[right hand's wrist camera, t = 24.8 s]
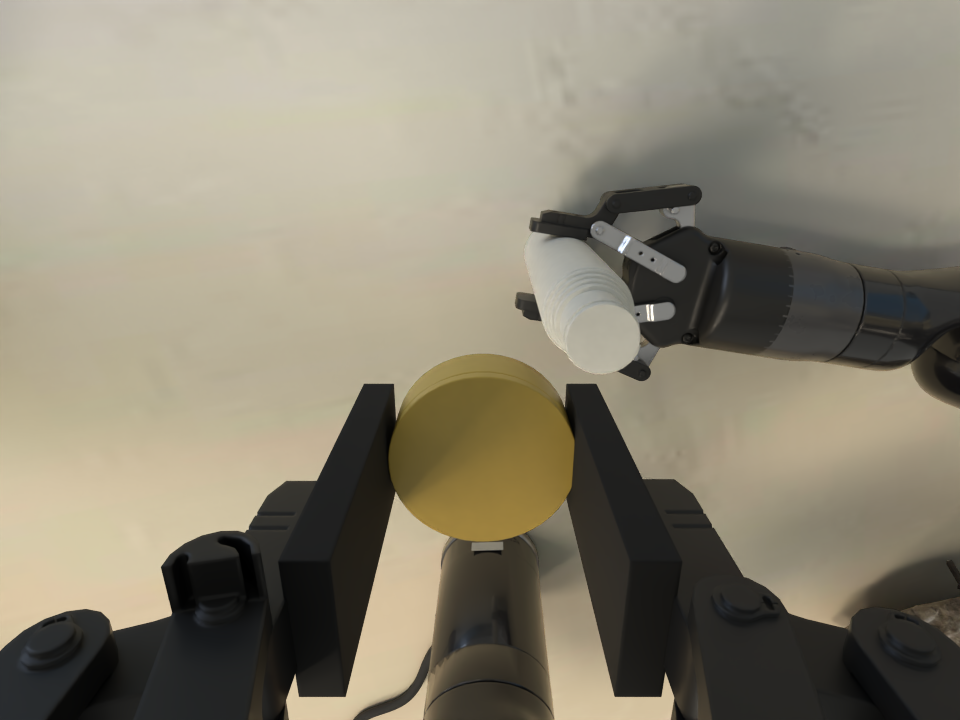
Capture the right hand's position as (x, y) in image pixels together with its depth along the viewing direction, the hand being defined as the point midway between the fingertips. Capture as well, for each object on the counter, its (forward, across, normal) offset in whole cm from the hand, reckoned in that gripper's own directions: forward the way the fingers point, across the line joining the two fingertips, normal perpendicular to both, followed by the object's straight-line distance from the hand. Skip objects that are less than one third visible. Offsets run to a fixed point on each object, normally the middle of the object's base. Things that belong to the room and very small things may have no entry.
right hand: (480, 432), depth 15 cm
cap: (-1, 0, 0) cm, 1 cm away
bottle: (+32, +6, -1) cm, 32 cm away
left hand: (+25, +3, -1) cm, 26 cm away
